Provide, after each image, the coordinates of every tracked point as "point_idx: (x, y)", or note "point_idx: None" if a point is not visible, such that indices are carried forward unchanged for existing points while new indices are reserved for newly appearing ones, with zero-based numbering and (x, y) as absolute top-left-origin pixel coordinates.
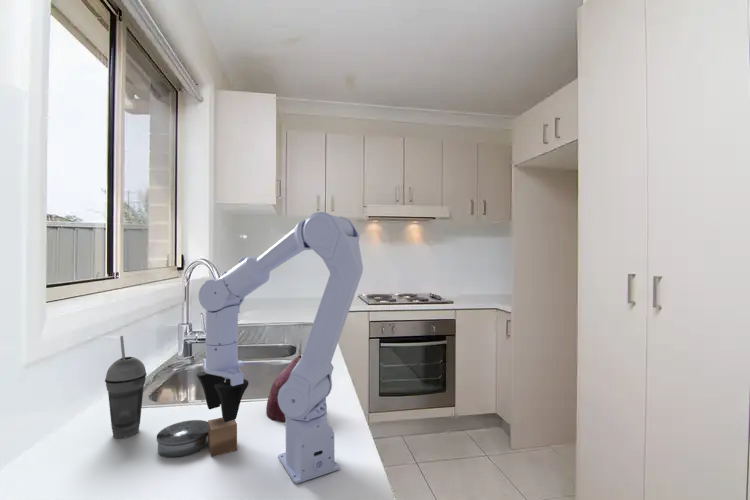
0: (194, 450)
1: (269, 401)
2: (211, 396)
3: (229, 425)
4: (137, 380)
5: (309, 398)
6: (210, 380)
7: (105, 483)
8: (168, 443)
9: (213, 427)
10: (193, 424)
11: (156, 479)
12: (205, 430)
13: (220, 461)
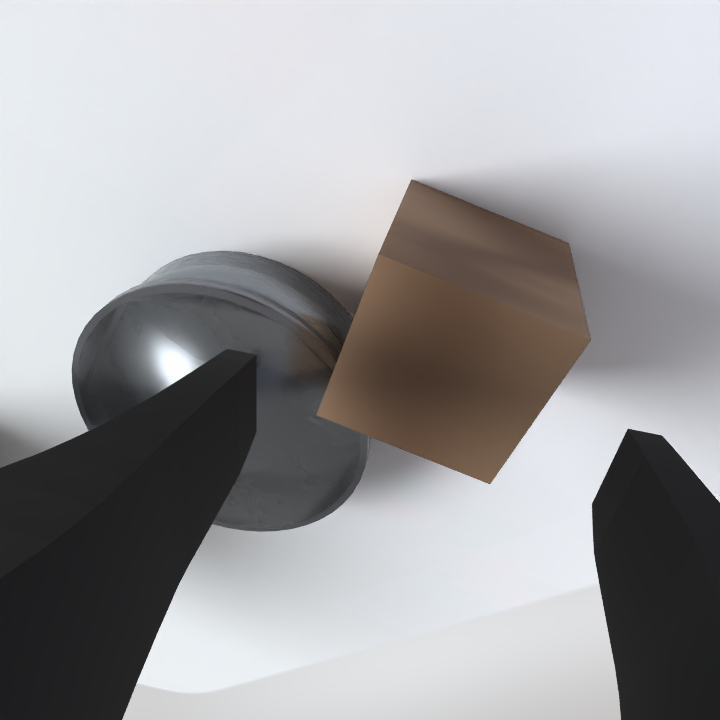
0: None
1: None
2: (203, 500)
3: (554, 388)
4: None
5: None
6: (98, 681)
7: (333, 618)
8: (306, 523)
9: (470, 460)
10: (157, 356)
11: (457, 557)
12: (308, 366)
13: (587, 369)
